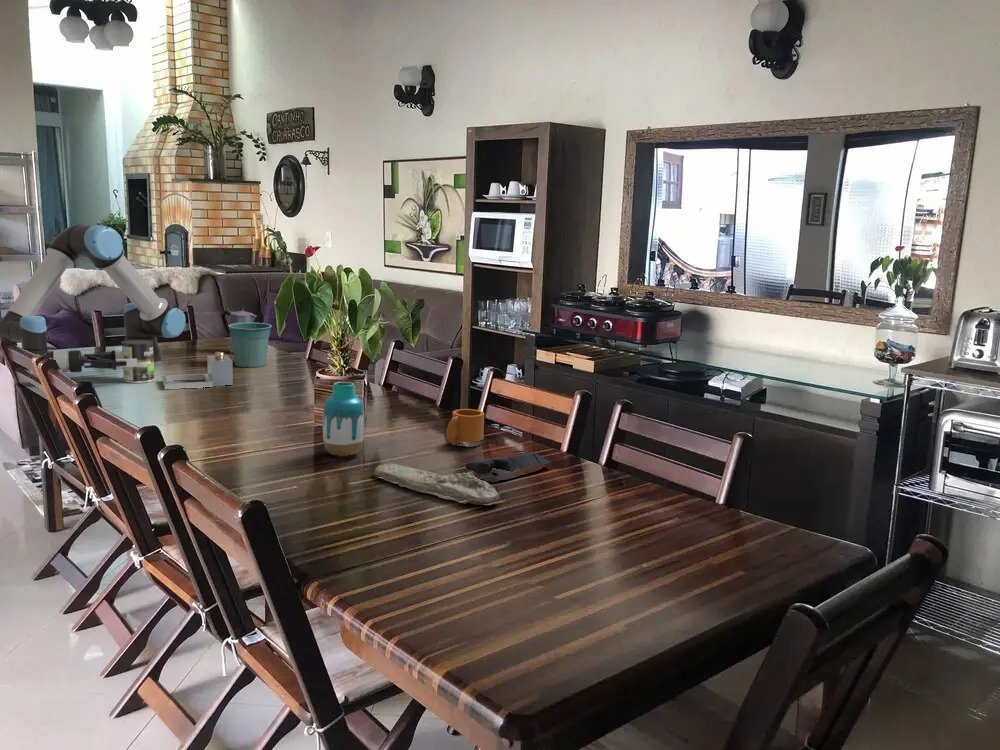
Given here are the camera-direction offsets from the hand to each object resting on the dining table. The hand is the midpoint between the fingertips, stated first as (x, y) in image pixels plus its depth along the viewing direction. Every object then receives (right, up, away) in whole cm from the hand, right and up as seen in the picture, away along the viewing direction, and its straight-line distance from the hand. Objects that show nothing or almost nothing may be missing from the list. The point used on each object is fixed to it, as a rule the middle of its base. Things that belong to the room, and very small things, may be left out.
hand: (136, 359), depth 287 cm
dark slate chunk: (+130, -30, -81) cm, 157 cm away
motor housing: (+21, -9, +1) cm, 23 cm away
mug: (+118, -25, -60) cm, 135 cm away
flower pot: (+29, -2, +38) cm, 48 cm away
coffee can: (0, -8, +2) cm, 8 cm away
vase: (+88, -27, -75) cm, 119 cm away
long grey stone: (+114, -33, -98) cm, 154 cm away
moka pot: (+16, +4, +64) cm, 66 cm away
